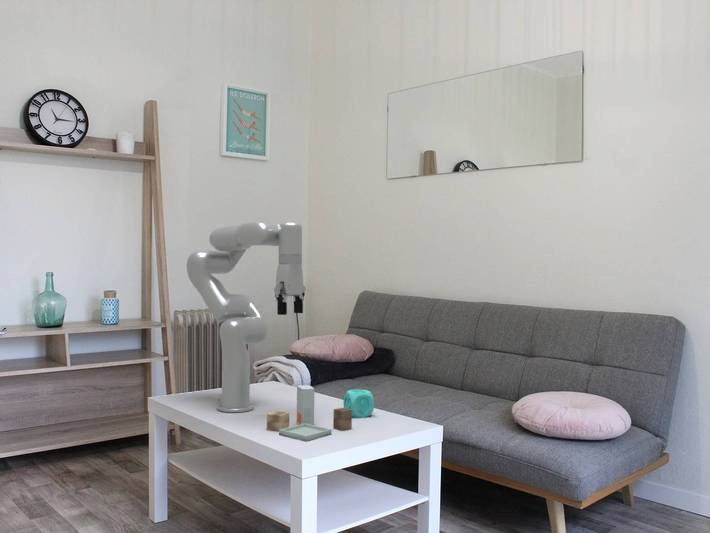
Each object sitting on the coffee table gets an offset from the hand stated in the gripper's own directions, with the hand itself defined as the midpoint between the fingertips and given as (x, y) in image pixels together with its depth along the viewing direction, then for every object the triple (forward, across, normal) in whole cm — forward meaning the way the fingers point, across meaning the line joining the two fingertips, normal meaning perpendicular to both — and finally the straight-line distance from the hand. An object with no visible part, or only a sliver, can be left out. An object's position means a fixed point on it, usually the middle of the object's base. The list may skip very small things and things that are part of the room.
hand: (290, 313), depth 217 cm
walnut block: (+35, 0, +19) cm, 40 cm away
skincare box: (+35, +1, +6) cm, 36 cm away
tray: (+35, +12, +13) cm, 39 cm away
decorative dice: (+35, -19, +15) cm, 43 cm away
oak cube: (+35, +11, +2) cm, 36 cm away
